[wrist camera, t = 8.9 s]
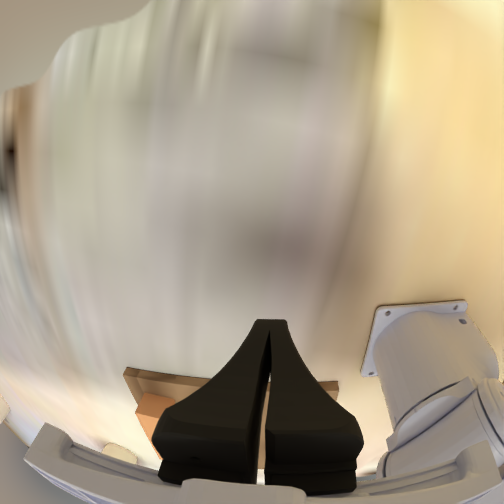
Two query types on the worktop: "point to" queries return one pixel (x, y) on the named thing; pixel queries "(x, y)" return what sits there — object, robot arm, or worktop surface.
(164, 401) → the t block
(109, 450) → the foam cup
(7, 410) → the cream l-shaped block
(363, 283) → the worktop surface
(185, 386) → the board
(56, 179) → the worktop surface
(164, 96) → the worktop surface
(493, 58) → the worktop surface
